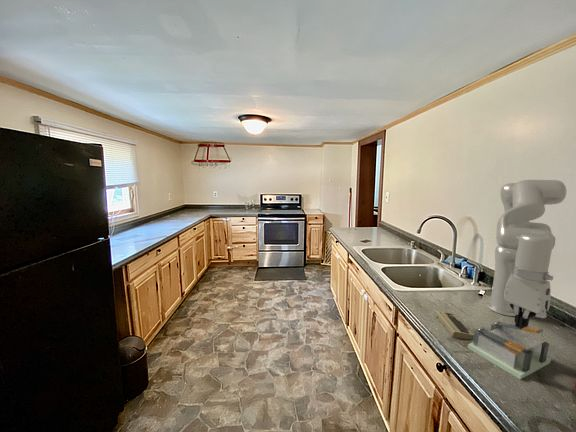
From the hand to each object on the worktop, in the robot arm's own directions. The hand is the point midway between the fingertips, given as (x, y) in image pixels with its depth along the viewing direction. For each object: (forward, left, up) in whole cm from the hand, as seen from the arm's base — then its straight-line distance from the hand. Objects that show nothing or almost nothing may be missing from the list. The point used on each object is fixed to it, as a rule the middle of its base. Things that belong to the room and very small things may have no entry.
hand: (520, 326), depth 83 cm
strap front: (+1, -4, -8) cm, 9 cm away
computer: (-4, -23, -15) cm, 28 cm away
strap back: (-9, -5, -6) cm, 12 cm away
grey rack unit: (-4, -4, -13) cm, 14 cm away
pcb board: (-4, -4, -15) cm, 16 cm away
